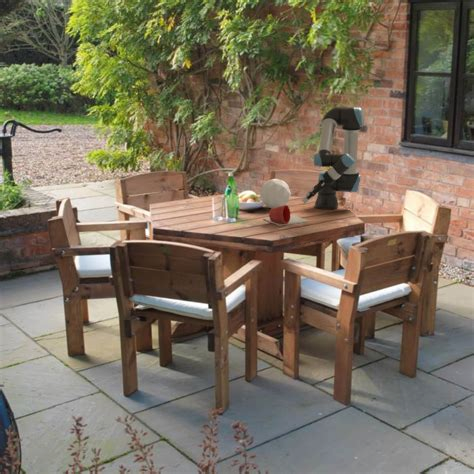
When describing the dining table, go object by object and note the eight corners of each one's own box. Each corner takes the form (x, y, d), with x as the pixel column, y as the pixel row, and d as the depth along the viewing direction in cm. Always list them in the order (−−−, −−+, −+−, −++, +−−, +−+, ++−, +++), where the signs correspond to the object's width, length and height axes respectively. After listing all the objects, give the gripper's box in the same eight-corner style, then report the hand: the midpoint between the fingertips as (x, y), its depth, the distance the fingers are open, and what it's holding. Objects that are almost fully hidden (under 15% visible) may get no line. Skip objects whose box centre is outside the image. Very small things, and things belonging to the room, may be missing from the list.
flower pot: (277, 218, 435) (292, 217, 431) (270, 227, 427) (285, 226, 422) (272, 202, 431) (287, 201, 426) (265, 212, 422) (281, 211, 418)
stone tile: (291, 215, 448) (291, 214, 448) (308, 222, 433) (308, 220, 433) (263, 219, 438) (263, 218, 438) (279, 225, 423) (279, 224, 423)
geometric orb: (278, 216, 475) (294, 191, 477) (281, 212, 455) (297, 185, 457) (253, 201, 475) (269, 176, 477) (255, 196, 455) (272, 170, 457)
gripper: (329, 166, 434) (303, 190, 441) (324, 174, 410) (297, 199, 418) (338, 176, 434) (312, 199, 442) (333, 184, 411) (306, 208, 418)
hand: (304, 199), depth 430 cm, fingers open, 13 cm apart
